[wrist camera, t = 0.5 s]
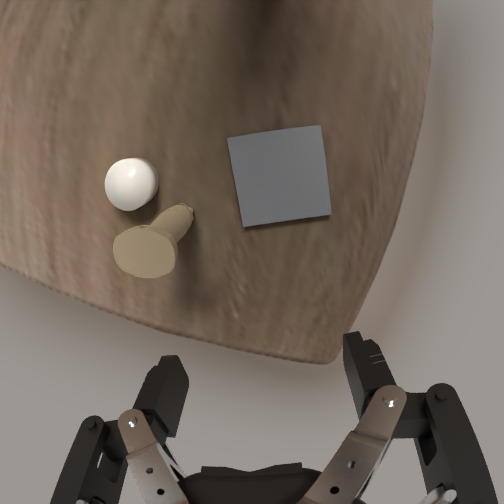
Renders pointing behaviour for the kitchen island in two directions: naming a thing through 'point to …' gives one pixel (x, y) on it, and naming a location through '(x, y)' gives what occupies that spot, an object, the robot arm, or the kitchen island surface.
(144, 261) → the handle
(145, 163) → the white dome knob
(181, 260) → the kitchen island surface
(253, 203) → the coaster
